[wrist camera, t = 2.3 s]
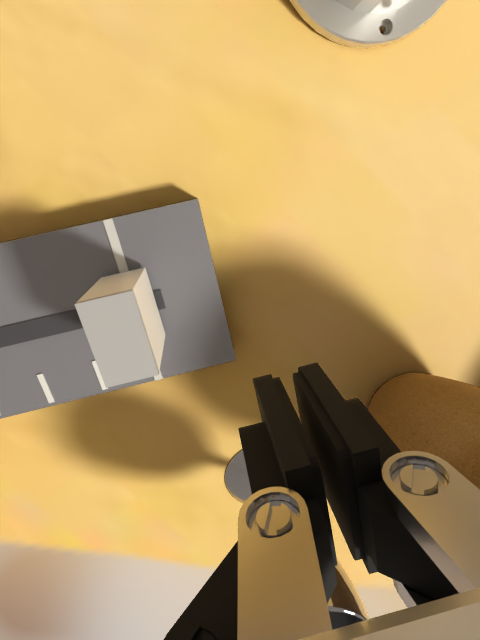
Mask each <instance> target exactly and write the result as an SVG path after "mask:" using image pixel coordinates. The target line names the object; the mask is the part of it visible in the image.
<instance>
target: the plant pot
mask: <svg viewBox="0 0 480 640" xmlns="http://www.w3.org/2000/svg"><path fill="white" fill-rule="evenodd" d="M368 411H369V412H370V413H371V415H372V416H373V417H374V418H375V420H376V421H377V422H378V423H379V425H380V426H381V427H382V428H383V430H384V431H385V432H386V433H387V435H388V436H389V437H390V438H391V439H392V441H393V442H394V443H395V444H396V446H397V447H398V448H399V449H400V451H401V452H405V451H421V452H426V453H430V454H433V455H435V456H438V457H440V458H441V459H443V460H444V461H446V462H447V463H449V464H450V465H451V466H452V467H454V468H455V469H456V470H457V471H458V472H459V473H461V474H462V475H463V476H464V477H465V478H467V479H468V480H469V481H470V482H471V483H472V484H474V485H475V486H476V487H477V488H478V489H480V387H477V386H474V385H470V384H467V383H463V382H459V381H456V380H452V379H447V378H443V377H438V376H433V375H428V374H423V373H406V374H402V375H399V376H397V377H394V378H392V379H390V380H389V381H387V382H386V383H385V384H383V385H382V386H381V387H380V388H379V389H378V390H377V392H376V393H375V394H374V396H373V397H372V399H371V401H370V404H369V407H368Z"/></svg>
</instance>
